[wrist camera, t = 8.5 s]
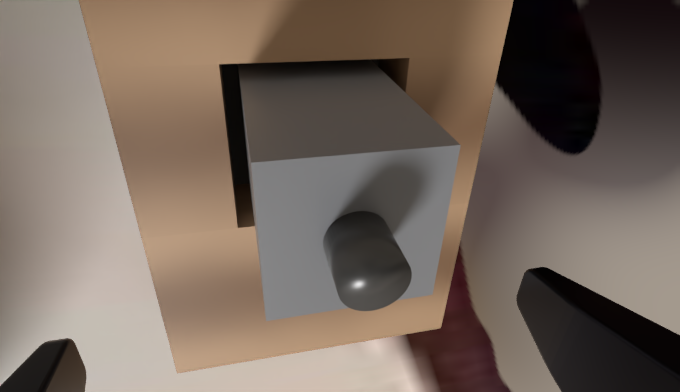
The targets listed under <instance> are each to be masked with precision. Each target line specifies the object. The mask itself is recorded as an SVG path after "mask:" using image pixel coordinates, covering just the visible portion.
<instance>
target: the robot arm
mask: <svg viewBox="0 0 680 392" xmlns="http://www.w3.org/2000/svg"><path fill="white" fill-rule="evenodd" d="M517 305H518V308H519V310H520V312H521V314H522V316H523V318H524V320H525V322H526V324H527V326H528V329H529V331H530V333H531V335H532V337H533V339H534V341H535V343H536V345H537V347H538V349H539V351H540V354H541V356H542V358H543V360H544V362H545V364H546V365H547V367H548V369H549V371H550V373H551V375H552V376H553V378H554V380H555V382H556V383H557V385H558V386H559V388H560V390H561V391H562V392H680V335H678V334H676V333H674V332H672V331H670V330H668V329H666V328H664V327H662V326H661V325H659V324H657V323H654V322H653V321H651V320H649V319H646V318H645V317H643V316H641V315H639V314H637V313H635V312H633V311H631V310H629V309H627V308H625V307H623V306H621V305H619V304H617V303H615V302H613V301H611V300H609V299H607V298H605V297H603V296H602V295H599V294H598V293H596V292H593V291H592V290H590V289H588V288H586V287H584V286H582V285H580V284H578V283H576V282H574V281H572V280H570V279H568V278H566V277H564V276H562V275H560V274H558V273H556V272H554V271H553V270H550V269H548V268H545V267H539V268H533V269H528V270H527V271H526V272H525V273H524V276H523V279H522V282H521V285H520V288H519V291H518V294H517ZM85 385H86V370H85V366H84V364H83V361H82V359H81V357H80V354H79V352H78V350H77V347H76V345H75V343H74V341H73V340H72V339H68V338H66V339H59V340H52V341H47V342H45V343H43V344H42V345H41V346H39V347H38V348H37V349H36V350H35V351H34V352H33V353H32V354H31V355H30V356H29V357H28V359H27V360H26V361H25V362H24V363H23V364H22V365H21V366H20V367H19V368H18V369H17V370H16V371H15V372H14V373H13V374H12V375H11V376H10V377H9V378H8V379H7V380H6V381H5V382H4V383H3V384H2V385H1V386H0V392H85Z"/></svg>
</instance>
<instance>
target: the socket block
mask: <svg viewBox="0 0 680 392" xmlns="http://www.w3.org/2000/svg"><path fill="white" fill-rule="evenodd" d="M79 3H80V7H81V11H82V14H83V18H84V22H85V26H86V29H87V33H88V37H89V41H90V45H91V48H92V52H93V56H94V60H95V64H96V67H97V71H98V75H99V79H100V83H101V86H102V90H103V94H104V98H105V101H106V105H107V109H108V113H109V117H110V120H111V124H112V128H113V132H114V136H115V139H116V143H117V147H118V151H119V155H120V158H121V162H122V166H123V170H124V173H125V177H126V181H127V185H128V189H129V192H130V196H131V200H132V204H133V208H134V211H135V215H136V219H137V223H138V227H139V230H140V234H141V238H142V242H143V245H144V249H145V253H146V257H147V261H148V264H149V268H150V272H151V276H152V280H153V283H154V287H155V291H156V295H157V299H158V302H159V306H160V310H161V314H162V317H163V321H164V325H165V329H166V333H167V336H168V340H169V344H170V348H171V352H172V355H173V359H174V363H175V367H176V371H177V373H182V372H188V371H194V370H200V369H205V368H211V367H217V366H223V365H229V364H235V363H240V362H246V361H252V360H258V359H264V358H270V357H275V356H281V355H287V354H293V353H299V352H304V351H310V350H316V349H322V348H328V347H334V346H339V345H345V344H351V343H357V342H363V341H369V340H374V339H380V338H386V337H392V336H398V335H404V334H409V333H415V332H421V331H427V330H433V329H438V328H441V325H442V320H443V316H444V311H445V307H446V302H447V298H448V293H449V289H450V284H451V280H452V275H453V271H454V266H455V262H456V257H457V253H458V248H459V244H460V239H461V235H462V230H463V226H464V221H465V216H466V212H467V207H468V203H469V198H470V194H471V190H472V185H473V181H474V176H475V172H476V167H477V162H478V158H479V154H480V149H481V144H482V140H483V136H484V131H485V126H486V122H487V117H488V113H489V108H490V104H491V99H492V95H493V90H494V86H495V81H496V77H497V72H498V68H499V63H500V59H501V54H502V50H503V45H504V41H505V36H506V32H507V27H508V23H509V18H510V14H511V9H512V5H513V0H79ZM364 59H370V60H372V61H373V62H374V63H375V64H376V65H377V66H378V67H379V68H380V69H381V70H382V71H383V72H384V73H385V74H386V75H387V76H388V77H389V78H391V79H392V80H393V81H394V82H395V83H396V84H397V85H398V86H399V87H400V88H401V89H402V90H403V91H404V92H405V93H406V94H407V95H408V96H410V97H411V98H412V99H413V100H414V101H415V102H416V103H417V104H418V105H419V106H420V107H421V108H422V109H423V110H424V111H425V112H426V113H427V114H429V115H430V116H431V117H432V118H433V119H434V120H435V121H436V122H437V123H438V124H439V125H440V126H441V127H442V128H443V129H444V130H445V131H446V132H448V133H449V134H450V135H451V136H452V137H453V138H454V139H455V140H456V141H457V142H458V143H459V144H460V145H461V146H460V151H459V156H458V162H457V167H456V172H455V178H454V183H453V188H452V194H451V199H450V204H449V210H448V215H447V220H446V226H445V231H444V236H443V242H442V247H441V252H440V258H439V263H438V268H437V274H436V279H435V284H434V289H433V295H428V296H422V297H415V298H409V299H403V300H396V301H395V302H393V303H392V304H390V305H388V306H386V307H384V308H381V309H378V310H373V311H358V310H354V309H351V308H346V309H340V310H333V311H327V312H321V313H315V314H308V315H302V316H296V317H289V318H283V319H277V320H270V321H266V316H265V308H264V299H263V291H262V282H261V274H260V265H259V257H258V249H257V240H256V232H255V223H254V215H253V206H252V198H251V189H250V181H249V173H248V163H247V153H246V143H245V133H244V123H243V113H242V103H241V93H240V83H239V73H238V64H242V63H272V62H303V61H334V60H364Z"/></svg>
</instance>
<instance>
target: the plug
mask: <svg viewBox="0 0 680 392" xmlns="http://www.w3.org/2000/svg"><path fill="white" fill-rule="evenodd" d="M238 73H239V83H240V93H241V103H242V113H243V123H244V133H245V143H246V153H247V163H248V173H249V181H250V189H251V198H252V206H253V215H254V223H255V232H256V240H257V249H258V257H259V265H260V274H261V282H262V291H263V299H264V308H265V316H266V321H270V320H277V319H283V318H289V317H296V316H302V315H308V314H315V313H321V312H327V311H333V310H340V309H346V308H351V309H354V310H358V311H373V310H378V309H381V308H384V307H386V306H388V305H390V304H392V303H393V302H395V301H396V300H403V299H409V298H415V297H422V296H428V295H433V289H434V284H435V279H436V274H437V268H438V263H439V258H440V252H441V247H442V242H443V236H444V231H445V226H446V220H447V215H448V210H449V204H450V199H451V194H452V188H453V183H454V178H455V172H456V167H457V162H458V156H459V151H460V146H461V145H460V144H459V143H458V142H457V141H456V140H455V139H454V138H453V137H452V136H451V135H450V134H449V133H448V132H446V131H445V130H444V129H443V128H442V127H441V126H440V125H439V124H438V123H437V122H436V121H435V120H434V119H433V118H432V117H431V116H430V115H429V114H427V113H426V112H425V111H424V110H423V109H422V108H421V107H420V106H419V105H418V104H417V103H416V102H415V101H414V100H413V99H412V98H411V97H410V96H408V95H407V94H406V93H405V92H404V91H403V90H402V89H401V88H400V87H399V86H398V85H397V84H396V83H395V82H394V81H393V80H392V79H391V78H389V77H388V76H387V75H386V74H385V73H384V72H383V71H382V70H381V69H380V68H379V67H378V66H377V65H376V64H375V63H374V62H373V61H372V60H370V59H364V60H334V61H303V62H272V63H242V64H238Z"/></svg>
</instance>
